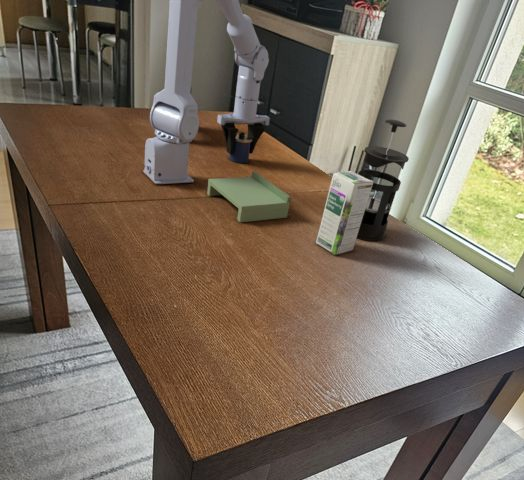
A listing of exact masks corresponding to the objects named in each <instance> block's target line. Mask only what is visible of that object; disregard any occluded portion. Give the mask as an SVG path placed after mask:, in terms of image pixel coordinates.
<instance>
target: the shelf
mask: <svg viewBox="0 0 524 480" xmlns="http://www.w3.org/2000/svg"><path fill="white" fill-rule="evenodd" d="M206 194H207V195H208V196H209V197H216V196H217V197H218V196H223V197H224V198H225V199H226V200H227V201H229V202H230V203H231V204H232V205H234V206H235V207H236V208H237V210H238V211H237V217H236V221H237V222H239V223H247V222H249V223H250V222H256V221H267V220H277V219H285V218H288V214H289V210H290V209H289V208H290V204H291V199H292V196H290V195H289V194H288V193H286V192H285V191H284V190H282V189H281V188H279V187H278V186H276V185H275V184H274V183H272V182H271V181H269V180H268V179H267V178H266V177H264V176H262V175H261V174H260V173H258V172H257V171H255V170H254V171H251V176H239V177H237V176H236V177H220V178H219V177H218V178H208V181H207V191H206Z"/></svg>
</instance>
